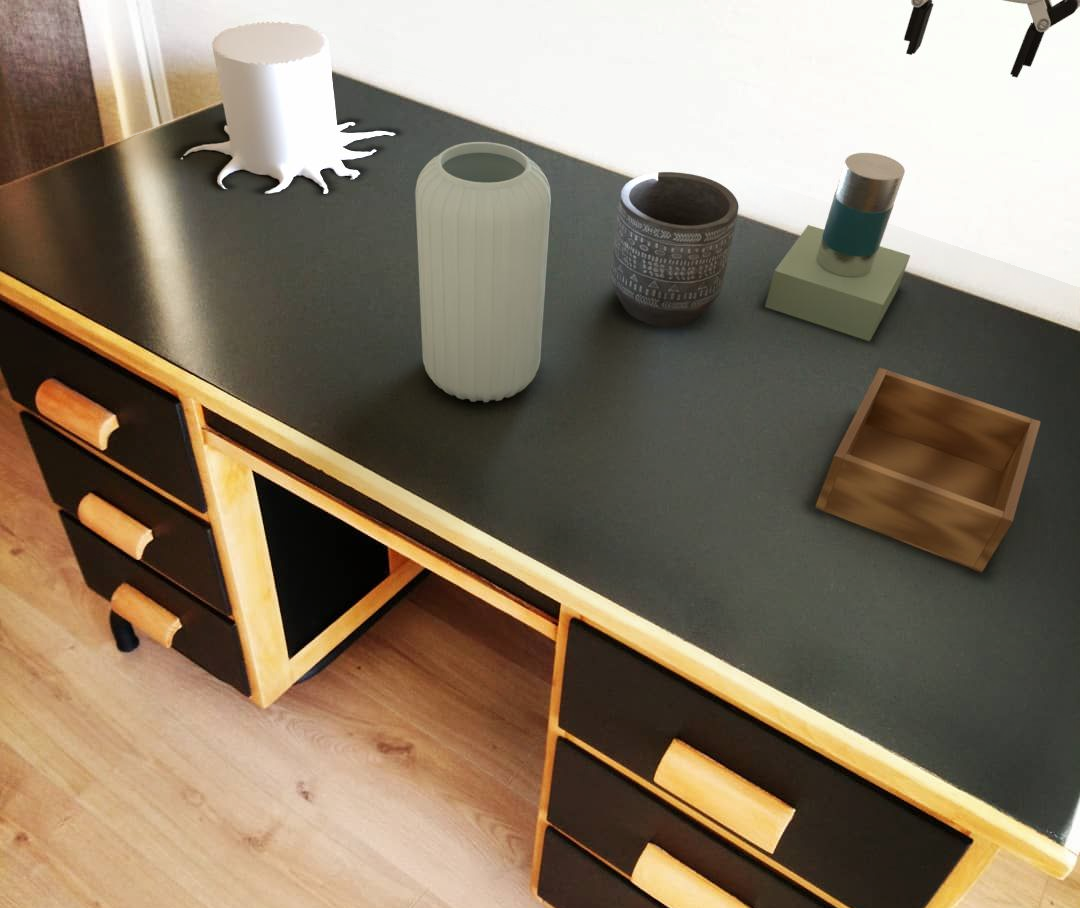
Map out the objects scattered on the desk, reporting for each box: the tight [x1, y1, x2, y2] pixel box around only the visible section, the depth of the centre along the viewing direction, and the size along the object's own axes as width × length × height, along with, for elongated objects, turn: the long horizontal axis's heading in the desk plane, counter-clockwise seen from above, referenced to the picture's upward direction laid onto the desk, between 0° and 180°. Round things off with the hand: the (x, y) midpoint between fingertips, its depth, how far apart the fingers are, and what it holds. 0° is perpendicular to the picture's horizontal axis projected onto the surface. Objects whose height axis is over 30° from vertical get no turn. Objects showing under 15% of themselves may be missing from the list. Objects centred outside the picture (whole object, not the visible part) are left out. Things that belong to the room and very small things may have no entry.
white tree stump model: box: [180, 21, 396, 195], centre depth 120 cm, size 25×25×14 cm
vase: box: [414, 141, 552, 403], centre depth 86 cm, size 12×12×22 cm
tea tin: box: [817, 152, 906, 277], centre depth 99 cm, size 6×6×11 cm
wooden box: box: [814, 367, 1041, 573], centre depth 83 cm, size 15×15×7 cm
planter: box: [609, 171, 740, 328], centre depth 100 cm, size 12×12×13 cm
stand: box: [764, 224, 911, 342], centre depth 105 cm, size 12×12×5 cm
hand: (963, 61), depth 89 cm, fingers open, 9 cm apart
